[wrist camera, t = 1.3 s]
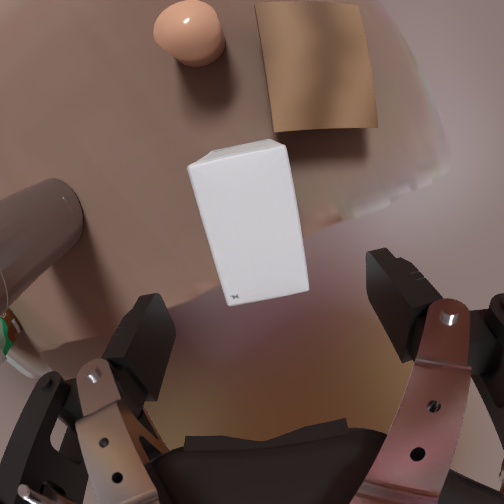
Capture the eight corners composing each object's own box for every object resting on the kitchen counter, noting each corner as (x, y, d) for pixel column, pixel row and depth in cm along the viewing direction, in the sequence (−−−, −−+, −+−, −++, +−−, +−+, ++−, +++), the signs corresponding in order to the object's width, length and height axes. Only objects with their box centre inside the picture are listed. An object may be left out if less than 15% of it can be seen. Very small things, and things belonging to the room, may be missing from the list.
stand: (271, 131, 24) (274, 132, 21) (254, 18, 19) (254, 3, 16) (361, 126, 24) (378, 128, 20) (344, 18, 19) (358, 5, 15)
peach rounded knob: (176, 72, 22) (156, 60, 16) (171, 29, 19) (151, 9, 14) (228, 61, 21) (221, 45, 16) (222, 19, 19) (214, -6, 14)
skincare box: (293, 236, 29) (312, 293, 20) (233, 248, 30) (224, 309, 20) (274, 136, 25) (288, 143, 15) (207, 150, 25) (181, 167, 16)
